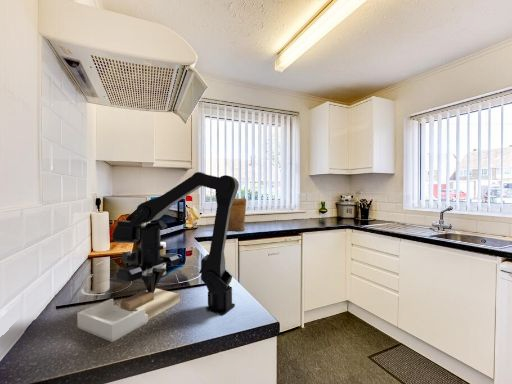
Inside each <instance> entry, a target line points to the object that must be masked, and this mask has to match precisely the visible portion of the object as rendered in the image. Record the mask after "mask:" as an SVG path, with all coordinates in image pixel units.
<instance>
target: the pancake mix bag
mask: <svg viewBox="0 0 512 384" xmlns="http://www.w3.org/2000/svg"><path fill="white" fill-rule="evenodd" d="M246 207H247V199H246V198H243V197H242V198H241V197H239V198H235V199H234V202H233V204H232V206H231V211H230V217H229V223H228V229H227V231H235V232H245V231H246V228H245V221H246V219H245V218H246V210H247V209H246ZM244 230H245V231H244Z"/></svg>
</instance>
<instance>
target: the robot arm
mask: <svg viewBox="0 0 512 384" xmlns="http://www.w3.org/2000/svg"><path fill="white" fill-rule="evenodd" d="M239 186H240V184H239V181H238V179H236V178H235V177H234V176H231V175H227V174H226V175H224V174H223V175H221V176H215V175H211V174H206V173H205V172H200V171H197V172H194V173H193V174H192V175H191V176H189V177H188V178H187V179H185V180H183V181H182V182H180V183H179V184H178V185H176V186H174V187H172V188H171V189H170V190H168V191H166V192H165V193H163V194H162V195H160V196H157V197H154V198H151V199H148V200H147V201H144V202H141V203H139V204H138V205H137V206H136V213H135V214H134V215H133V217H132V218H131V220H117V221H116V222H117V223H116V226H115V227H114V229H113V232H112V240H113V241H114V243H116V244H117V243H118V244H136V243H138V242H139V246H137V247H136V251H135V252H132V251H131V250H129V251H124V252H123V253H122V254H121V259H122V263H123V264H127V263H128V265H125V266H122V267H119V268H118V269H117V270H116V273H115V275H116V277H115V278H116V279H117V280H121V281H125V282H133V281H134V282H135V281H136V280H139V279H140V278H141V279H142V282H143V283H144V285H145V289H146V290H147V291H148V292H151V293H154V291H155V289H156V288H157V286H158V284H159V282H160V280H161V278H162V277H163V276H164V275H163V273H164V272H165V271H166V272H167V268H166V269H163V265H164V264H166V265H167V264H169V263H170V265H171V266H172V267H174V266H176V265H180V257H179V256H178V255H177V254H174V253H166V254H165V255H162V256H161V252H160V250H162V249H163V246H161V245H160V242H161V230H163V229H165V228H167V227H168V224H166V223H164V221H163V220H159V219H161V218H162V217H163V216H164V215H165V214H166V213H167V212H168V211H169V210H170V208H171V207H172V206H173V205H175V204H177V203H178V202H179V201H181V200H183V199H184V198H186V197H187V196H189V195H190V194H193V193H194V192H195V191H196V190H199V189H200V188H201V187H204V188H208V189H212V190H215V201H216V210H215V216H214V223H213V230H212V236H211V241H210V246H209V247H210V249H209V253H208V254H206V255H204V257H202V258H201V262H200V263H201V265H200V267H201V268H200V270H199V272H198V274H200V279H201V281H202V282H203V283H204V284H205V285H206V288H207V290H208V291H207V307H205V311H208V312H212V313H214V314H215V313H216V314H218V315H221V316H222V315H225V314H227V313H228V312H229V311H230V310H232V309H233V308H234V307H235V305H236V304H235V303H233V288H232V287H233V286H230V284H231V282H232V279H233V275H232V274H231V273H230V272H229V271H228V270H226V257H225V248H226V241H227V235H228V232H227V229H228V223H229V217H230V211H231V206H232V204H233V202H234V199H236V197H237V194H238V191H239ZM156 220H158V221H157V222H153V221H156ZM144 224H145V225H144ZM135 265H136V266H135ZM137 265H138V266H137ZM162 275H163V276H162Z"/></svg>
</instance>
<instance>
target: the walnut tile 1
mask: <svg viewBox="0 0 512 384" xmlns="http://www.w3.org/2000/svg"><path fill="white" fill-rule="evenodd" d="M119 302H120V308H121V309H124V310H127V311H132V310H134V309H136V308H138V307H140V306H142V305H143V298H139V297H136V296H134V295H132V296H130V297H129V296H128V297H127V298H125V299H122V300H120V301H119Z"/></svg>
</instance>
